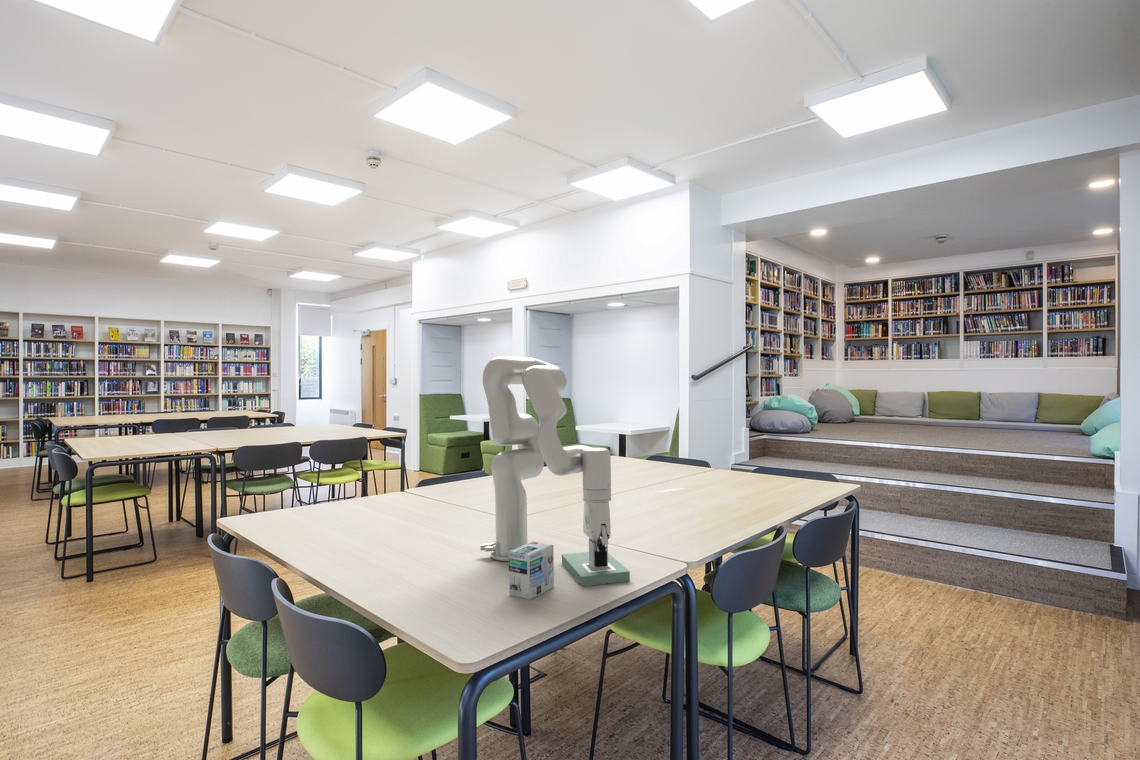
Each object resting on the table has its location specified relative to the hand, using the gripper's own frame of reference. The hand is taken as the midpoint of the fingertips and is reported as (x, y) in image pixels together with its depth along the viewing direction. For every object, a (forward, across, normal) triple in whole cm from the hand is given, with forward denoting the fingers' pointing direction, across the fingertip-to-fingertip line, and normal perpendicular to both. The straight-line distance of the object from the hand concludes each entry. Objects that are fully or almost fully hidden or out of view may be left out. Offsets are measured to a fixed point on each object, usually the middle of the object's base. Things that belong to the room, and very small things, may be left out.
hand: (598, 562), depth 149 cm
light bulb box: (+4, +5, -19) cm, 20 cm away
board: (+4, -4, 0) cm, 5 cm away
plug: (+2, 0, 0) cm, 2 cm away
